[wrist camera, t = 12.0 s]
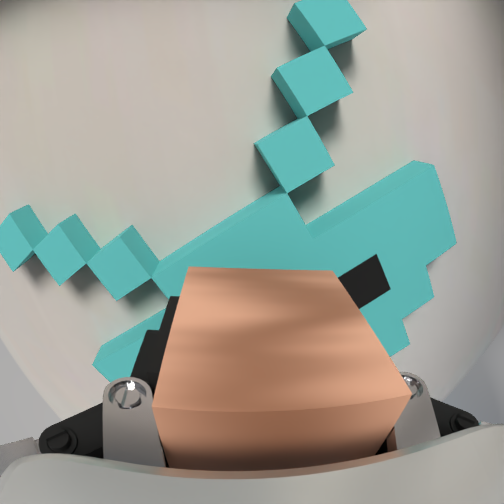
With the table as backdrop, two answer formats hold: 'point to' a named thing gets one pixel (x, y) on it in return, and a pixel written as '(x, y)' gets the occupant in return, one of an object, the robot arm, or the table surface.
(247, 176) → the table surface
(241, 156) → the table surface
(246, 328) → the terracotta cube
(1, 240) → the alien figure
